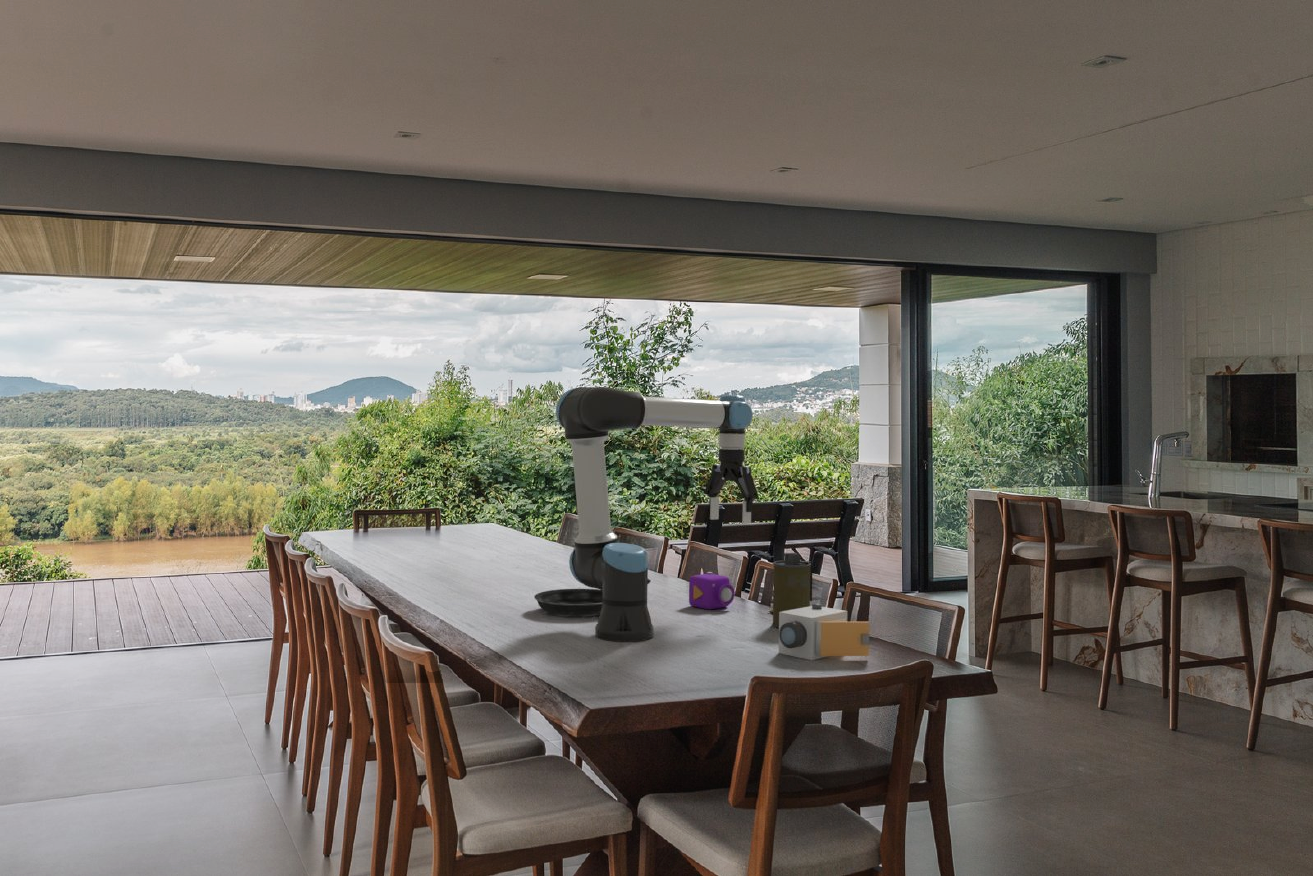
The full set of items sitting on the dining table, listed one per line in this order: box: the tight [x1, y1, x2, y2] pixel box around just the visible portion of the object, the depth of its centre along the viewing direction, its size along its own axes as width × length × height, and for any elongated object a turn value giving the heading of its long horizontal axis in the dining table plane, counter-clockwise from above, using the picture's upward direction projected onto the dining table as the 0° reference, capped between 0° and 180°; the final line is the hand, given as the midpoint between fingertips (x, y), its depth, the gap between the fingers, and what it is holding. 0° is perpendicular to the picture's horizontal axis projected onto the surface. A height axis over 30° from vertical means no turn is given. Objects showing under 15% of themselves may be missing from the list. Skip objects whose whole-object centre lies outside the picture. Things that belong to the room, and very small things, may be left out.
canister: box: [771, 552, 813, 629], centre depth 293 cm, size 11×10×20 cm
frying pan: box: [533, 578, 652, 619], centre depth 316 cm, size 44×25×7 cm, turn 137°
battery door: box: [816, 621, 870, 657], centre depth 252 cm, size 13×2×8 cm, turn 94°
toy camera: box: [688, 571, 735, 610], centre depth 319 cm, size 11×14×10 cm
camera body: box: [778, 603, 848, 661], centre depth 259 cm, size 17×10×11 cm, turn 134°
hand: (730, 521), depth 311 cm, fingers open, 13 cm apart
